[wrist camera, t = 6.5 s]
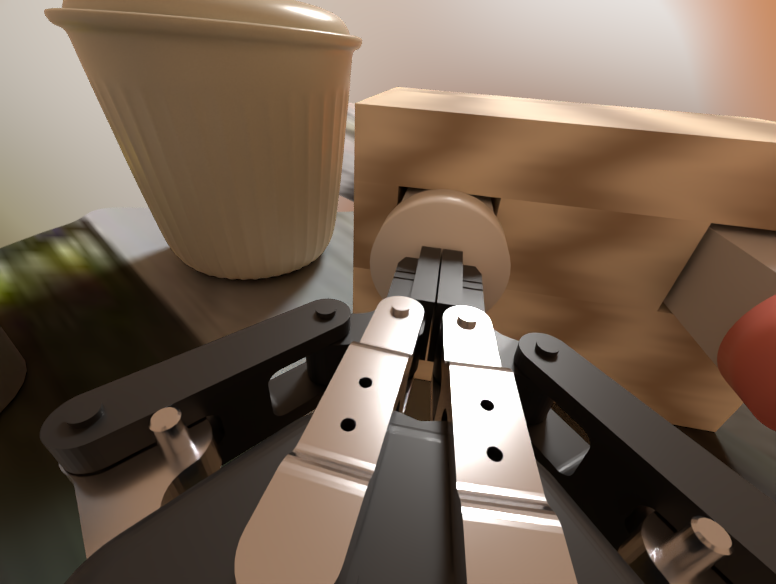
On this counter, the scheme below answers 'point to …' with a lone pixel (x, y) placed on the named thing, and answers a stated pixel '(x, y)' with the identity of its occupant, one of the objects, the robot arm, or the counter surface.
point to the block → (578, 219)
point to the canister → (224, 121)
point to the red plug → (734, 310)
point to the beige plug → (443, 237)
